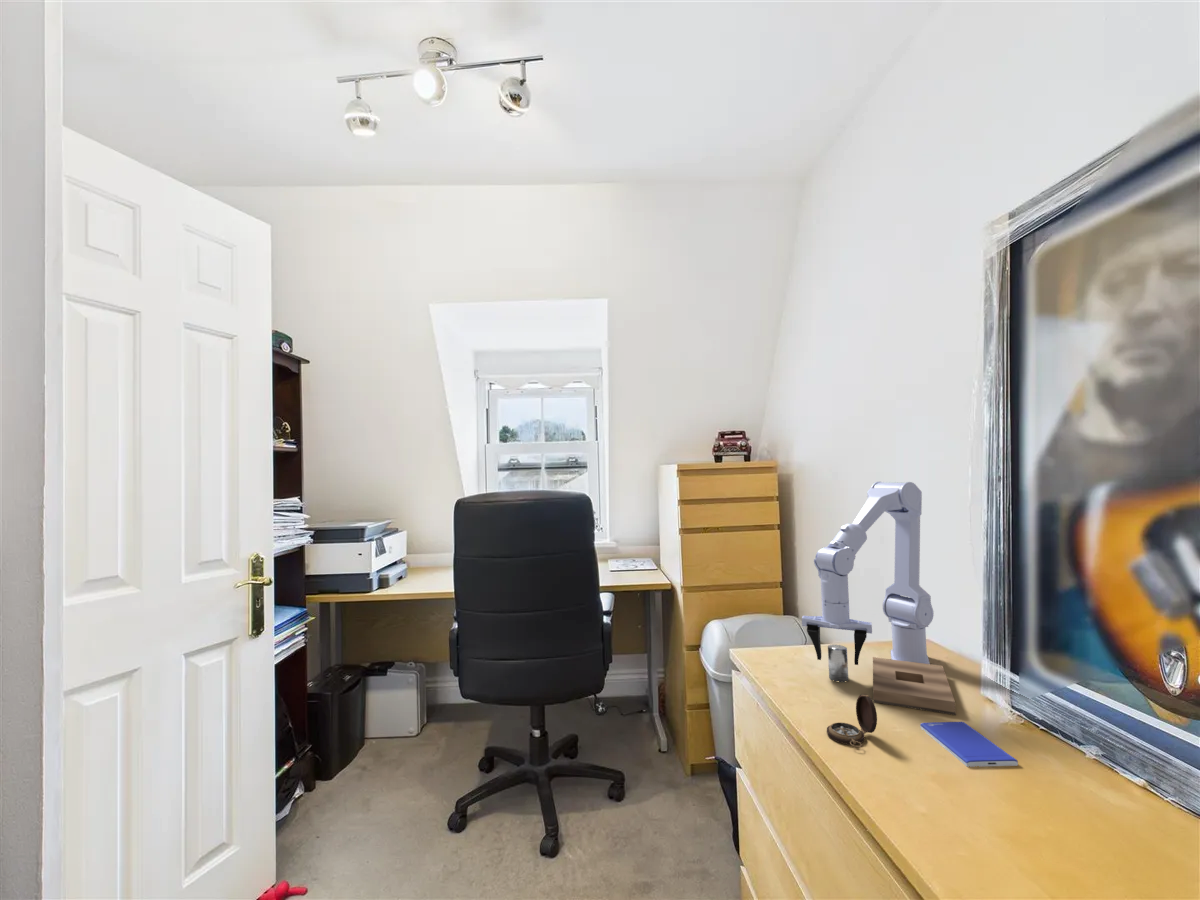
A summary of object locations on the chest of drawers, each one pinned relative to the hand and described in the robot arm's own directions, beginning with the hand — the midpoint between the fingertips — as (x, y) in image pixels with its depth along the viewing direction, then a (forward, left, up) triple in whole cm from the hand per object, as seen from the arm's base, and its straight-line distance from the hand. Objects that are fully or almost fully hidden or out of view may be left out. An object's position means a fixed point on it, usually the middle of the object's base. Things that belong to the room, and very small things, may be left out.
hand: (837, 660), depth 119 cm
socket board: (0, +14, -4) cm, 15 cm away
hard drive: (+22, +21, -5) cm, 31 cm away
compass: (+27, +4, -4) cm, 28 cm away
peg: (0, 0, -4) cm, 4 cm away
